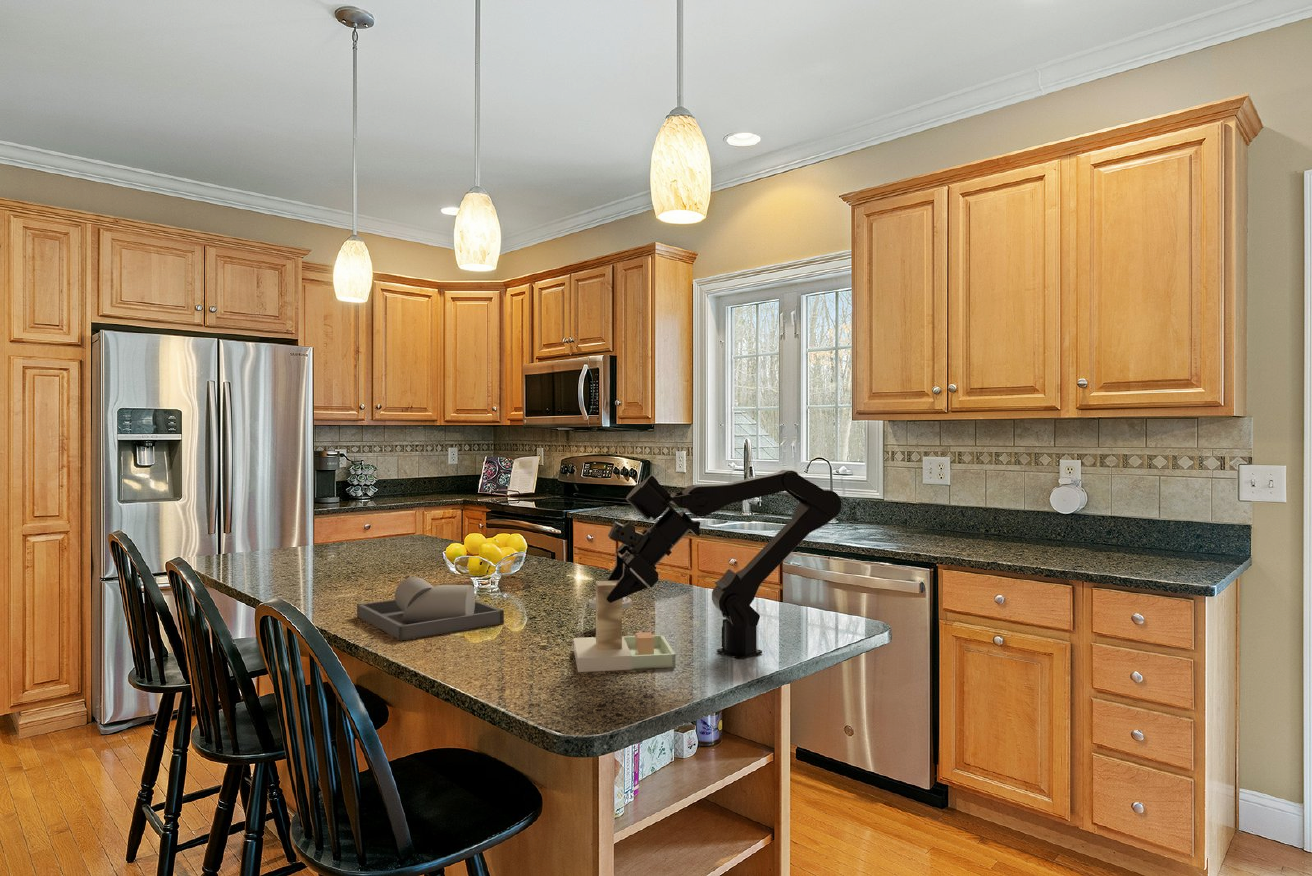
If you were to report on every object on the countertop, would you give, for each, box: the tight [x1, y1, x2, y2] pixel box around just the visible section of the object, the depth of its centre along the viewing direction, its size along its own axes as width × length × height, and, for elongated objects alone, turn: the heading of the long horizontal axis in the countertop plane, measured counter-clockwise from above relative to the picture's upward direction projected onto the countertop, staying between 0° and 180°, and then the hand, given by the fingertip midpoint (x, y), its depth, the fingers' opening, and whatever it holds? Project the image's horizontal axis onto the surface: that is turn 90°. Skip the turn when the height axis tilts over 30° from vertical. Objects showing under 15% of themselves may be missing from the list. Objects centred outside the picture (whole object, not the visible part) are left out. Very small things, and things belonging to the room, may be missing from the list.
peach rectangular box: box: [634, 631, 654, 655], centre depth 147 cm, size 4×4×3 cm
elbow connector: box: [394, 576, 476, 623], centre depth 177 cm, size 18×10×20 cm
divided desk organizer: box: [356, 598, 505, 642], centre depth 176 cm, size 27×24×3 cm
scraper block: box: [595, 580, 623, 650], centre depth 145 cm, size 4×4×12 cm
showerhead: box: [588, 596, 632, 611], centre depth 169 cm, size 9×7×10 cm
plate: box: [573, 635, 633, 673], centre depth 145 cm, size 10×14×2 cm
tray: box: [622, 634, 677, 671], centre depth 147 cm, size 8×14×2 cm, turn 9°
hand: (605, 595), depth 145 cm, fingers open, 9 cm apart
